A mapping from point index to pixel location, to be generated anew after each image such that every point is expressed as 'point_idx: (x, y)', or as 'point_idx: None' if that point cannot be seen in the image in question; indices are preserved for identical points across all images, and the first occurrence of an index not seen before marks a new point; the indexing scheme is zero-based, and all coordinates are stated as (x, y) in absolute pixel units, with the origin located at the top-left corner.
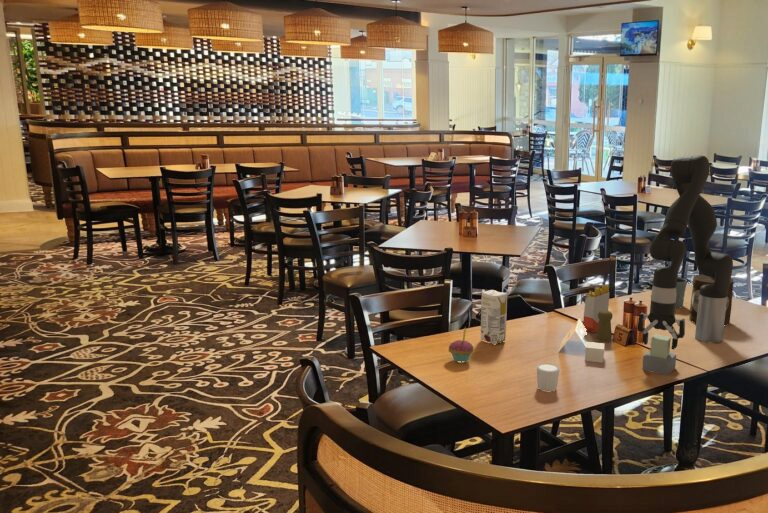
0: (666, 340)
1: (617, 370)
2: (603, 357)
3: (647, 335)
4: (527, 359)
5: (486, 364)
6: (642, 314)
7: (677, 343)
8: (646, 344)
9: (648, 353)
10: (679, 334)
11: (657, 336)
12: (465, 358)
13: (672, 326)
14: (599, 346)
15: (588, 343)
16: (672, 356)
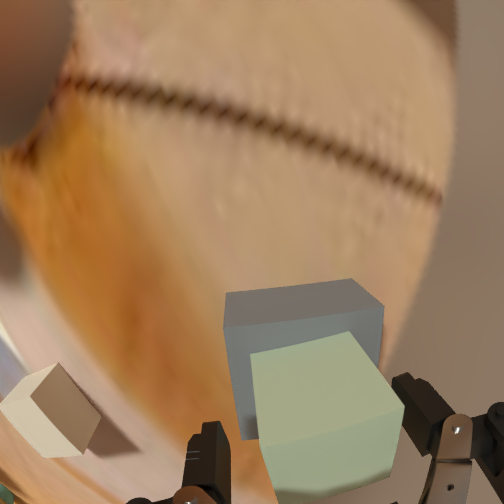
0: (381, 472)
1: (180, 447)
2: (94, 430)
3: (225, 487)
4: (17, 462)
5: (25, 494)
6: None
7: (436, 391)
8: (228, 441)
9: (245, 402)
10: (479, 463)
11: (301, 467)
12: (12, 501)
13: (460, 497)
14: (50, 434)
15: (13, 420)
16: (372, 349)
